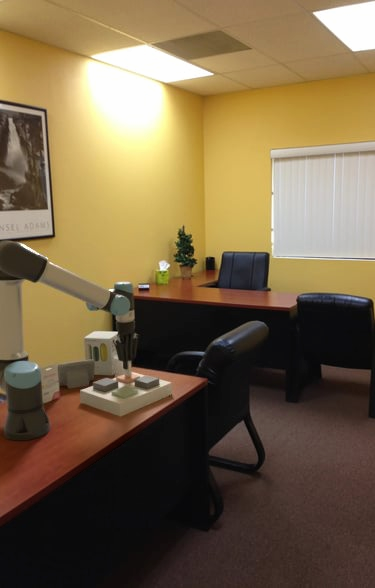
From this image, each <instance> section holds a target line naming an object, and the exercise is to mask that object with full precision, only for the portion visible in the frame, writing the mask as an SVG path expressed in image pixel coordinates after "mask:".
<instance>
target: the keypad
mask: <svg viewBox="0 0 375 588" xmlns="http://www.w3.org/2000/svg"><path fill="white" fill-rule="evenodd" d="M132 374H134V375H138V376H140V377H143V376H146V375H144V374H141V373H138V372H134V371H132ZM112 379H113V380H116V378H115V377H114V378H112ZM124 386H126V387H130V388H133V389H136V390H138V394H135V395H133V396H130V397H128V398H125V399H123V398H120V397H117V396H114V395H112V391H114V390H116V389H119V388H122V387H124ZM116 389H113V390H110V391H108V392H101V391H98V390H95V389H93V385H92V386H89V387H86V388H83V389H80V390H79V395H80V397H79V398H80V403H82V404H84V405H87V406H90V407H92V408H95V409H98V410H101V411H104V412H106V413H110V414H112V415H115V416H118V417H120V418H121V417H123V416H126V415H128V414H130V413H133V412H135V411H137V410H139V409H141V408H144V407H146V406H149V405H150V404H154V403H155V402H157V401H160V400H163V399H165V398H167V397H169V395H170V396H172V395H173V384H172V382H171V381H168V380H164V379H160V378H159V385H158V386H155V387H153V388H150V389H148V390H146V389H143V388H139V387H136V386H135V383H134V382H132V383H129V384H126V383H122V382H119V381H118V388H116ZM171 394H172V395H171ZM162 398H163V399H162Z"/></svg>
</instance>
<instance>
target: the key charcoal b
mask: <svg viewBox="0 0 375 588" xmlns="http://www.w3.org/2000/svg"><path fill="white" fill-rule="evenodd" d="M159 379H160V378H159V377H155V376H152V375H148V374H146V375H145V376H143V377H140V378H138V379H135V380H134V383H135V386H136V387H139V388H143V389H146V390H148V389H150V388H153V387H155V386H158V385H159Z"/></svg>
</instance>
